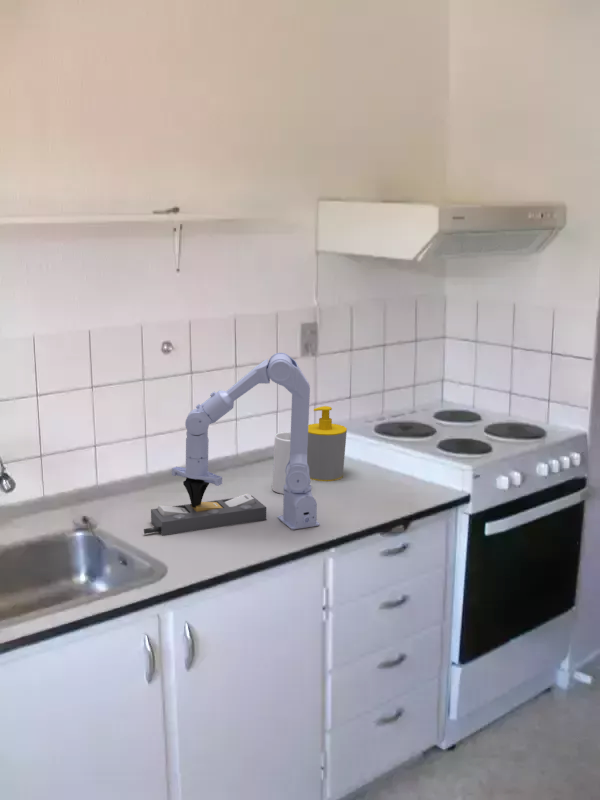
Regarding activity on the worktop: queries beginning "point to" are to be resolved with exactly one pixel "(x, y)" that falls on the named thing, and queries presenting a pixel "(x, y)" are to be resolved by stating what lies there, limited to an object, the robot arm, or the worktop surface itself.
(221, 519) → the power strip
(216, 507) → the rocker mid
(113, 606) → the worktop surface
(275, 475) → the cup
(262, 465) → the worktop surface
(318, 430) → the soap bottle
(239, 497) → the rocker
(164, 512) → the block
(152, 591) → the worktop surface
